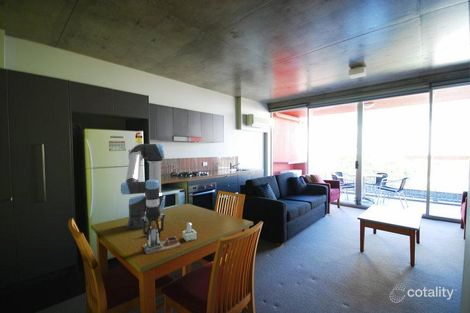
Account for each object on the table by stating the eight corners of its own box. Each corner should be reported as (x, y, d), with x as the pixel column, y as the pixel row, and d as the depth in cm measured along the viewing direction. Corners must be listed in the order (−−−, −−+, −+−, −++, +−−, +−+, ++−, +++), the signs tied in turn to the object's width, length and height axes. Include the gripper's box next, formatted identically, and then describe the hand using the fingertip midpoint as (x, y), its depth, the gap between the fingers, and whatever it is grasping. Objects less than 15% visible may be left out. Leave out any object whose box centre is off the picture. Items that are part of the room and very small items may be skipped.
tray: (182, 237, 141) (182, 231, 141) (192, 235, 145) (192, 229, 145) (186, 241, 135) (186, 234, 135) (196, 239, 139) (196, 232, 139)
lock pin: (186, 237, 141) (185, 222, 140) (190, 236, 142) (190, 221, 142) (187, 239, 138) (187, 224, 137) (192, 238, 139) (191, 223, 139)
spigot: (149, 244, 126) (149, 226, 126) (156, 242, 129) (156, 225, 128) (150, 246, 123) (150, 228, 123) (157, 245, 125) (157, 227, 125)
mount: (143, 246, 128) (143, 241, 128) (175, 239, 139) (175, 234, 139) (146, 255, 118) (146, 249, 118) (181, 246, 129) (181, 240, 129)
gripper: (138, 209, 117) (139, 250, 118) (168, 204, 126) (169, 242, 127) (136, 206, 124) (137, 244, 125) (165, 202, 133) (166, 238, 134)
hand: (153, 243), depth 126 cm, fingers closed on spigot, 4 cm apart
